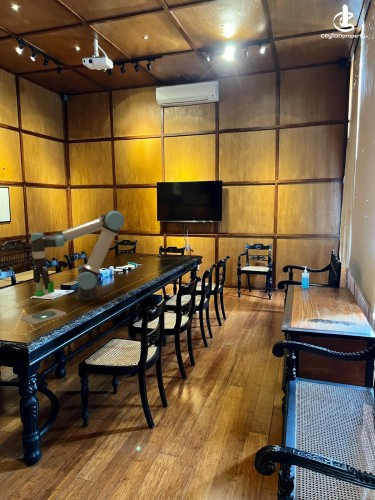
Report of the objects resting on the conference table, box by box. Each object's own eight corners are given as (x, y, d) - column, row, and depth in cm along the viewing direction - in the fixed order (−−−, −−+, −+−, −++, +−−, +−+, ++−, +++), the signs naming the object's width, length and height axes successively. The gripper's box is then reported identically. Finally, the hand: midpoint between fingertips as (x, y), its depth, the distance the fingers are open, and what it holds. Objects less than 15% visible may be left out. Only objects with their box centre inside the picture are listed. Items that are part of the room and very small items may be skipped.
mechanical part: (47, 291, 228) (46, 279, 227) (54, 291, 225) (53, 279, 224) (32, 296, 217) (31, 283, 216) (40, 296, 215) (38, 284, 213)
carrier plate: (52, 310, 216) (52, 308, 216) (66, 314, 208) (65, 312, 207) (21, 319, 200) (20, 317, 200) (34, 324, 192) (34, 321, 191)
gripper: (24, 257, 220) (28, 292, 223) (42, 259, 208) (46, 297, 212) (36, 255, 226) (39, 290, 229) (54, 257, 214) (57, 294, 218)
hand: (42, 293), depth 220 cm, fingers closed on mechanical part, 7 cm apart
